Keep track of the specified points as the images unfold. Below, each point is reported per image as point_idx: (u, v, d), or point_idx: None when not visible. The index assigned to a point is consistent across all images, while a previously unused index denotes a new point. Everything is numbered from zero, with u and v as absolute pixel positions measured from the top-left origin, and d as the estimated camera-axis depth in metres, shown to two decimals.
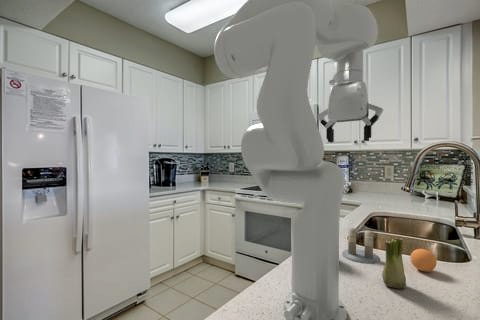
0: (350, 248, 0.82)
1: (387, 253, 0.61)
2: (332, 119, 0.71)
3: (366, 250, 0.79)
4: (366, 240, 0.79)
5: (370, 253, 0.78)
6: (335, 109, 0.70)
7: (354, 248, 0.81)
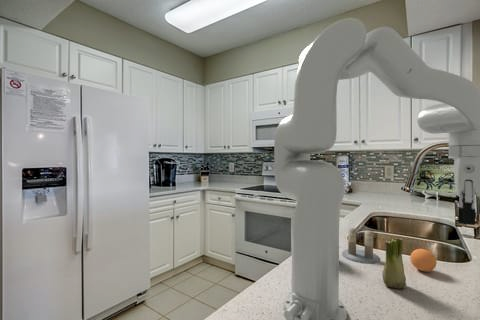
0: (350, 248, 0.82)
1: (387, 253, 0.61)
2: None
3: (366, 250, 0.79)
4: (366, 240, 0.79)
5: (370, 253, 0.78)
6: None
7: (354, 248, 0.81)
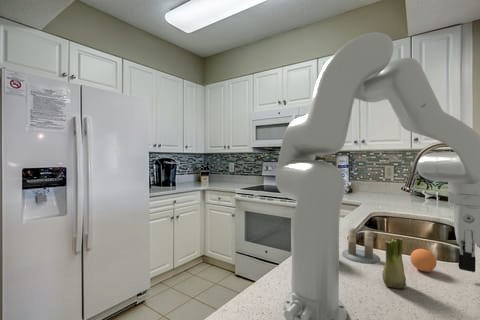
0: (350, 248, 0.82)
1: (387, 253, 0.61)
2: None
3: (366, 250, 0.79)
4: (366, 240, 0.79)
5: (370, 253, 0.78)
6: None
7: (354, 248, 0.81)
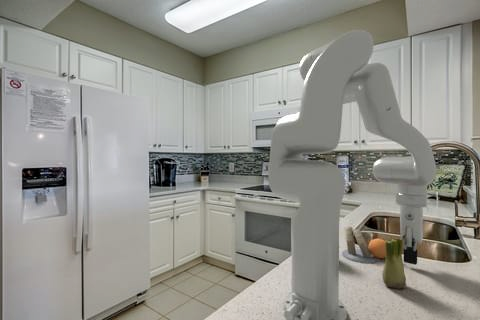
0: (349, 247, 0.82)
1: (387, 253, 0.61)
2: None
3: (362, 249, 0.80)
4: (357, 239, 0.81)
5: (366, 250, 0.79)
6: (421, 231, 0.69)
7: (353, 246, 0.82)
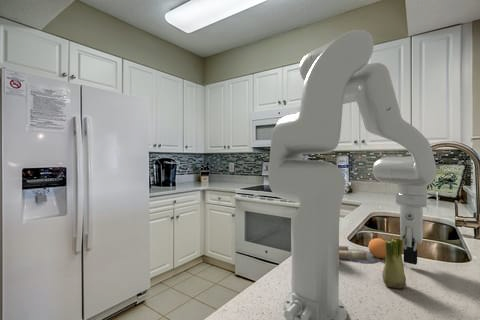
0: None
1: (387, 253, 0.61)
2: None
3: None
4: None
5: None
6: (421, 231, 0.69)
7: (341, 248, 0.83)
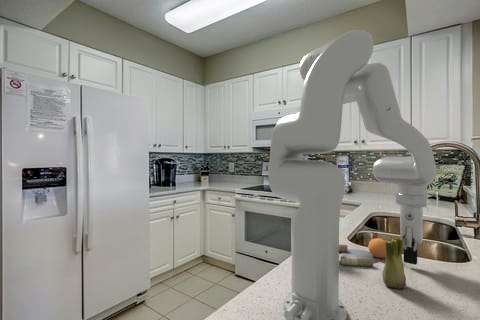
0: (340, 246, 0.84)
1: (387, 253, 0.61)
2: None
3: (363, 262, 0.73)
4: (352, 262, 0.73)
5: (365, 258, 0.74)
6: (421, 231, 0.69)
7: (339, 244, 0.86)
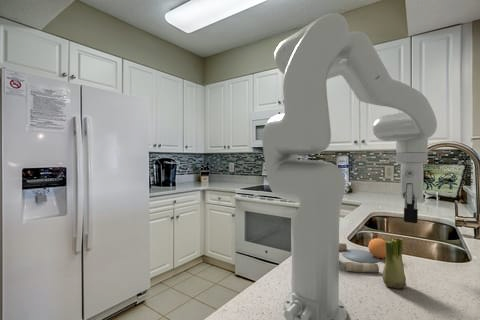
0: (339, 243, 0.87)
1: (387, 253, 0.61)
2: (421, 198, 0.68)
3: None
4: None
5: None
6: (422, 188, 0.69)
7: None
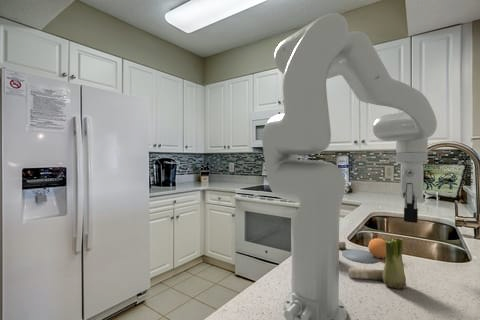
0: None
1: (387, 253, 0.61)
2: (421, 198, 0.68)
3: (374, 278, 0.65)
4: (361, 278, 0.66)
5: (377, 274, 0.65)
6: (422, 188, 0.69)
7: None
